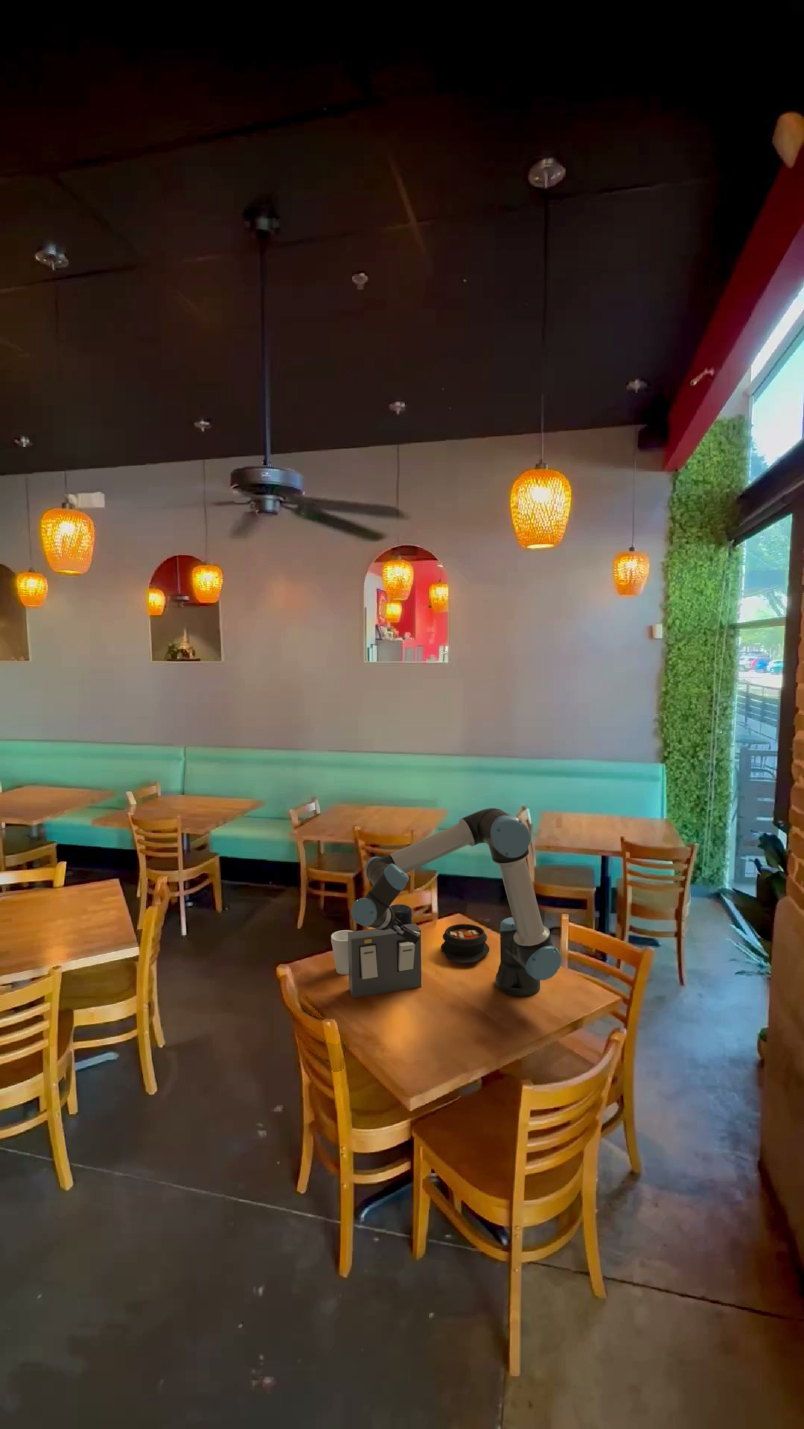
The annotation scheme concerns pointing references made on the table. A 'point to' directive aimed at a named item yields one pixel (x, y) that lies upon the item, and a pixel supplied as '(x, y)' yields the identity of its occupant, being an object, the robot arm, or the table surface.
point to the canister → (402, 913)
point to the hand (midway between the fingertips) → (402, 923)
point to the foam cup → (341, 951)
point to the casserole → (464, 943)
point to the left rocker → (368, 961)
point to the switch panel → (382, 962)
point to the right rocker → (406, 956)
